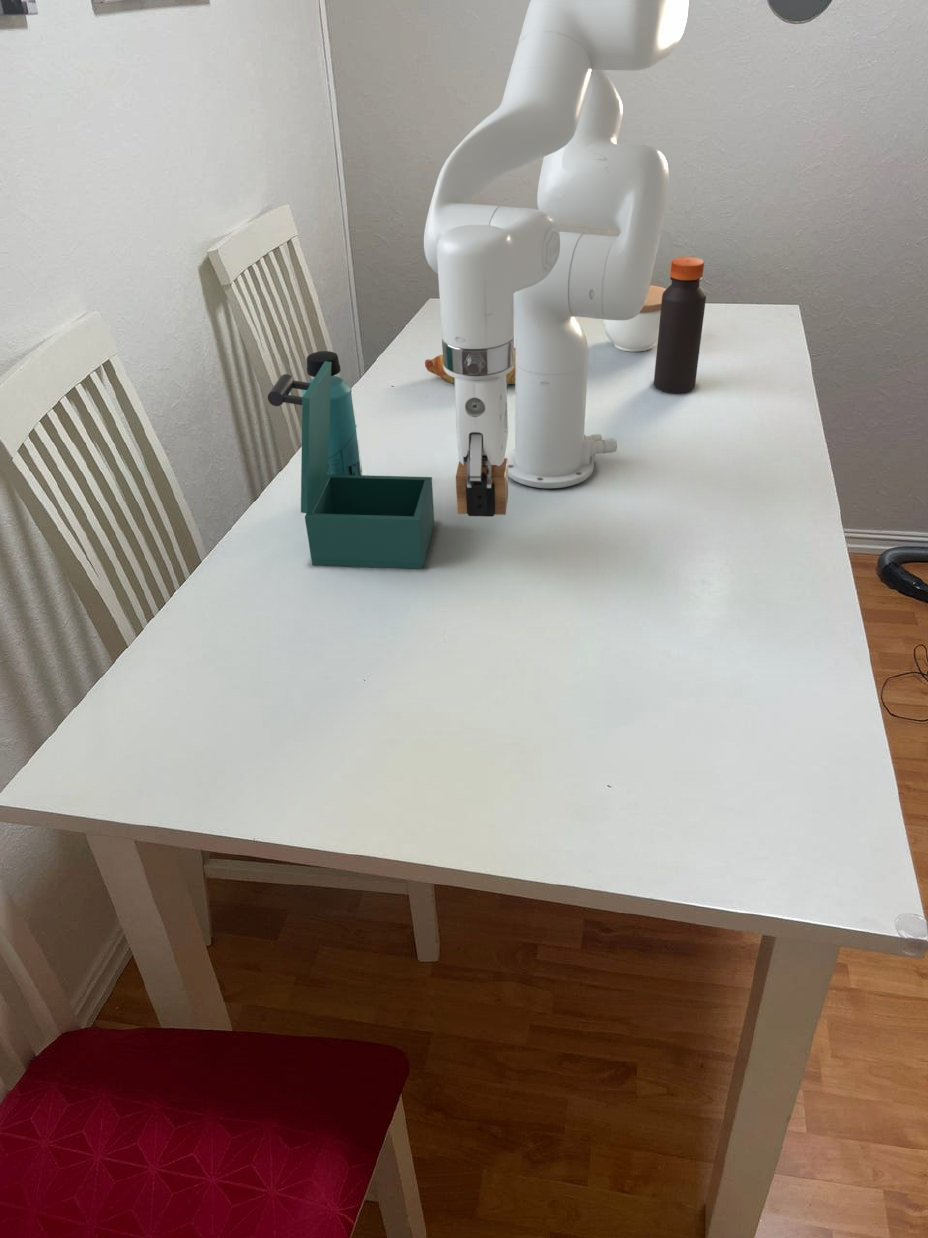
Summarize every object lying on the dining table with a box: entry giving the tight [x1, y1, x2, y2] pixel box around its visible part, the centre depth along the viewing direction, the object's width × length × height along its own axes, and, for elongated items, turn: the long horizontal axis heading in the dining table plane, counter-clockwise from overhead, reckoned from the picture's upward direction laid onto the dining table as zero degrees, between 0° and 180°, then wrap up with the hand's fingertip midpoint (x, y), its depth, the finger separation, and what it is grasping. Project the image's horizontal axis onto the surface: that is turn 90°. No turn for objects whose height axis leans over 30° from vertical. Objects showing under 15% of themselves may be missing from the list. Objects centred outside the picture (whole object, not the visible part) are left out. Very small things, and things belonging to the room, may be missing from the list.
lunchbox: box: [304, 474, 435, 570], centre depth 113 cm, size 14×11×7 cm
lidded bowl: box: [601, 284, 667, 353], centre depth 164 cm, size 13×13×11 cm
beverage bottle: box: [301, 350, 363, 475], centre depth 118 cm, size 6×7×20 cm
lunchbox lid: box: [267, 361, 331, 514], centre depth 107 cm, size 14×11×5 cm
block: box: [455, 458, 509, 516], centre depth 106 cm, size 6×4×5 cm
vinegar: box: [653, 256, 707, 394], centre depth 146 cm, size 7×7×20 cm
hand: (483, 501), depth 107 cm, fingers closed on block, 4 cm apart
